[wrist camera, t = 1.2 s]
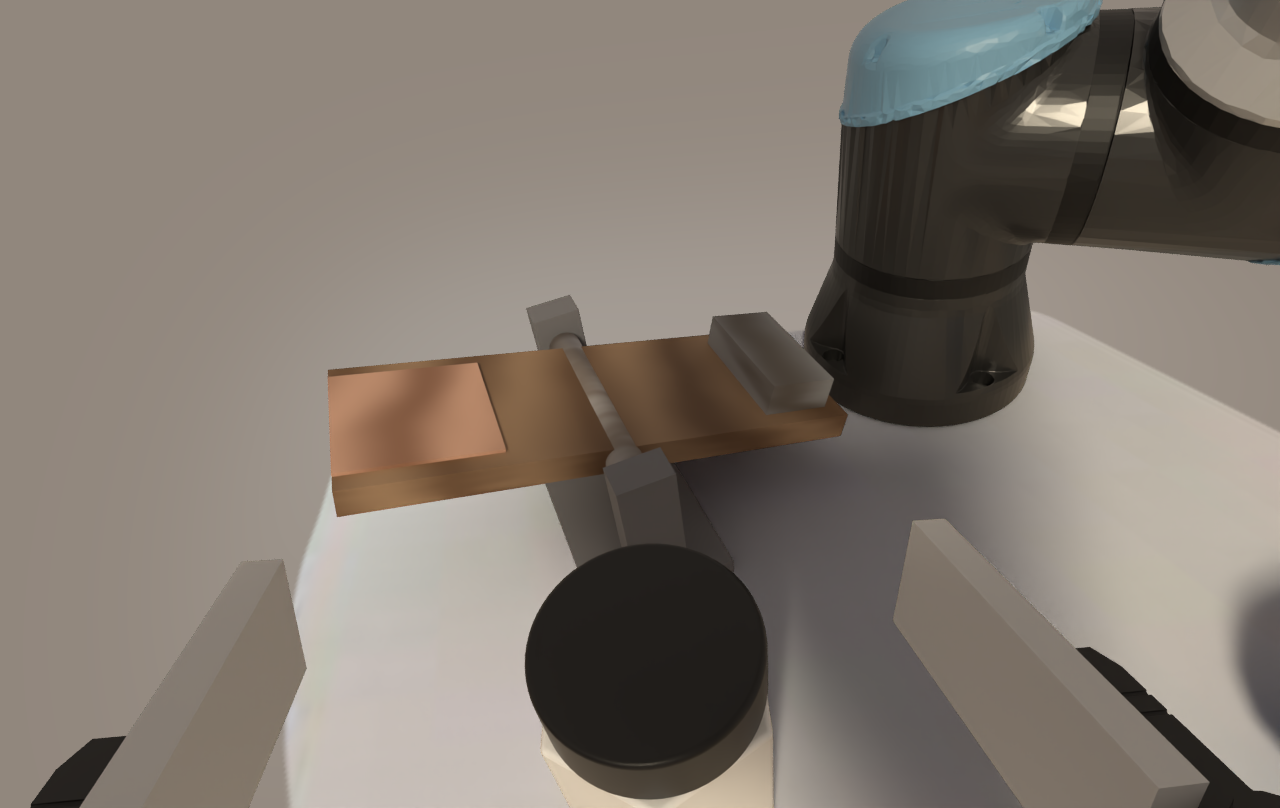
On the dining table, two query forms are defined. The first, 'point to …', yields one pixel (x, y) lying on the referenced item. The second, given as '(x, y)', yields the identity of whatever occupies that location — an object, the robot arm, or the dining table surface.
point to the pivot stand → (623, 484)
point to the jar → (653, 683)
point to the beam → (568, 412)
